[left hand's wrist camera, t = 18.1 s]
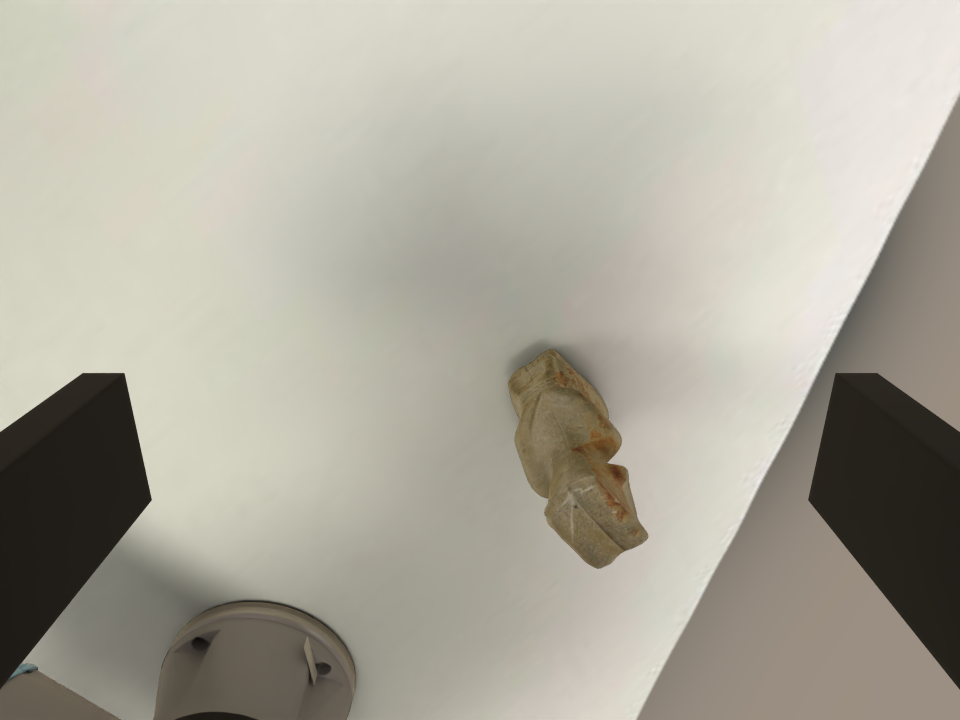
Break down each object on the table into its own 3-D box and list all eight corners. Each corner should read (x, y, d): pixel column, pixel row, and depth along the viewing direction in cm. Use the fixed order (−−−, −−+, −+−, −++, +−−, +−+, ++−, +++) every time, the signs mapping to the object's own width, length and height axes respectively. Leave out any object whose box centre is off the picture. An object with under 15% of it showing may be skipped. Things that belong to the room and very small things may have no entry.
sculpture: (547, 448, 47) (575, 597, 33) (489, 371, 45) (494, 496, 31) (618, 406, 46) (678, 542, 32) (563, 324, 44) (601, 433, 30)
